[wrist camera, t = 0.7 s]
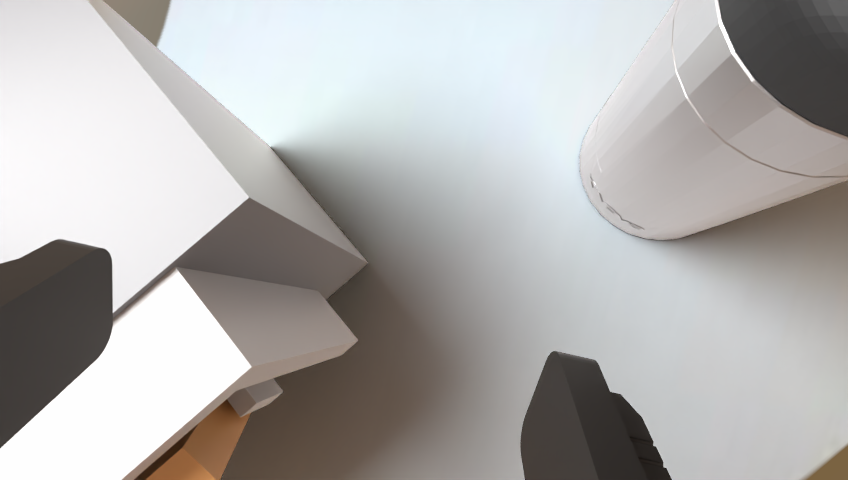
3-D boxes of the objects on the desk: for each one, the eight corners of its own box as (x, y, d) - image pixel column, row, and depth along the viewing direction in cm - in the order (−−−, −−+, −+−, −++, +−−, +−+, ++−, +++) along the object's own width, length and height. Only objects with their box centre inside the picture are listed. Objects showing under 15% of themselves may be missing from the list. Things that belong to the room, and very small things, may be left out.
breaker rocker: (249, 348, 26) (185, 445, 16) (273, 373, 26) (224, 483, 16) (122, 458, 26) (-23, 625, 16) (147, 482, 26) (20, 661, 16)
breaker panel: (269, 146, 33) (49, -47, 16) (405, 306, 31) (330, 296, 13) (-1, 374, 32) (-560, 445, 15) (121, 554, 30) (-361, 893, 13)
